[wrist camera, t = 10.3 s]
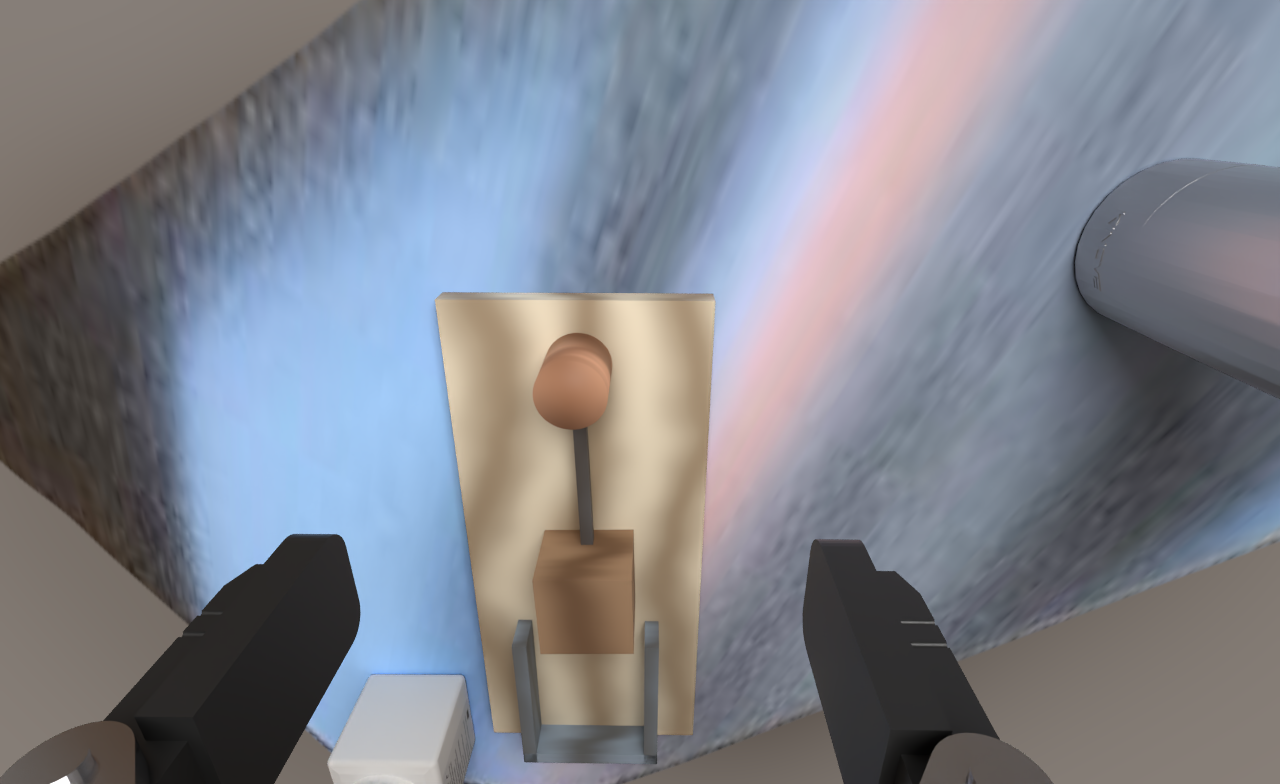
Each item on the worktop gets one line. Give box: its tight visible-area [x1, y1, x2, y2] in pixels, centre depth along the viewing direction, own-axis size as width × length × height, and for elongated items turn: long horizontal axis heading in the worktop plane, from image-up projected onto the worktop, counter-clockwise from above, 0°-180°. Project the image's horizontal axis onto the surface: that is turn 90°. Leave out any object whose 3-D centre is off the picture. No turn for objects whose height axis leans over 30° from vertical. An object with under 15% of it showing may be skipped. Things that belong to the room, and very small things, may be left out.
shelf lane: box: [435, 292, 715, 764], centre depth 43 cm, size 16×36×4 cm, turn 0°
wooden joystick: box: [532, 333, 635, 654], centre depth 39 cm, size 6×20×5 cm, turn 1°
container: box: [327, 674, 475, 784], centre depth 46 cm, size 8×8×13 cm
